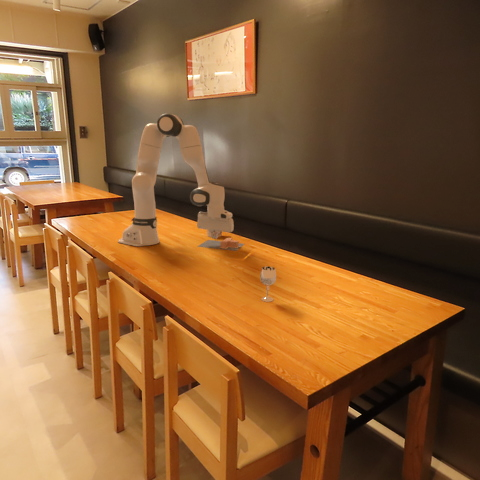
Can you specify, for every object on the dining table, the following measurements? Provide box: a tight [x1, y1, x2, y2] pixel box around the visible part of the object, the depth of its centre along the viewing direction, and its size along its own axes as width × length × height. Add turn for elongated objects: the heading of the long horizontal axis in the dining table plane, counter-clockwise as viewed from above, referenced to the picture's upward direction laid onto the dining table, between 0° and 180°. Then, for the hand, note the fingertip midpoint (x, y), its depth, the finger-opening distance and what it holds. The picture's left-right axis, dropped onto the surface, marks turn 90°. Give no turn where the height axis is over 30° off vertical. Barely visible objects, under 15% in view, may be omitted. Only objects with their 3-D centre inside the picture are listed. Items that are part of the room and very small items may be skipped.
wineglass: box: [259, 265, 277, 303], centre depth 143 cm, size 6×6×12 cm
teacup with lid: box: [206, 229, 223, 238], centre depth 234 cm, size 12×9×12 cm
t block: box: [220, 237, 240, 248], centre depth 211 cm, size 8×10×3 cm
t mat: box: [197, 239, 245, 252], centre depth 214 cm, size 22×15×1 cm
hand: (214, 238), depth 213 cm, fingers closed
